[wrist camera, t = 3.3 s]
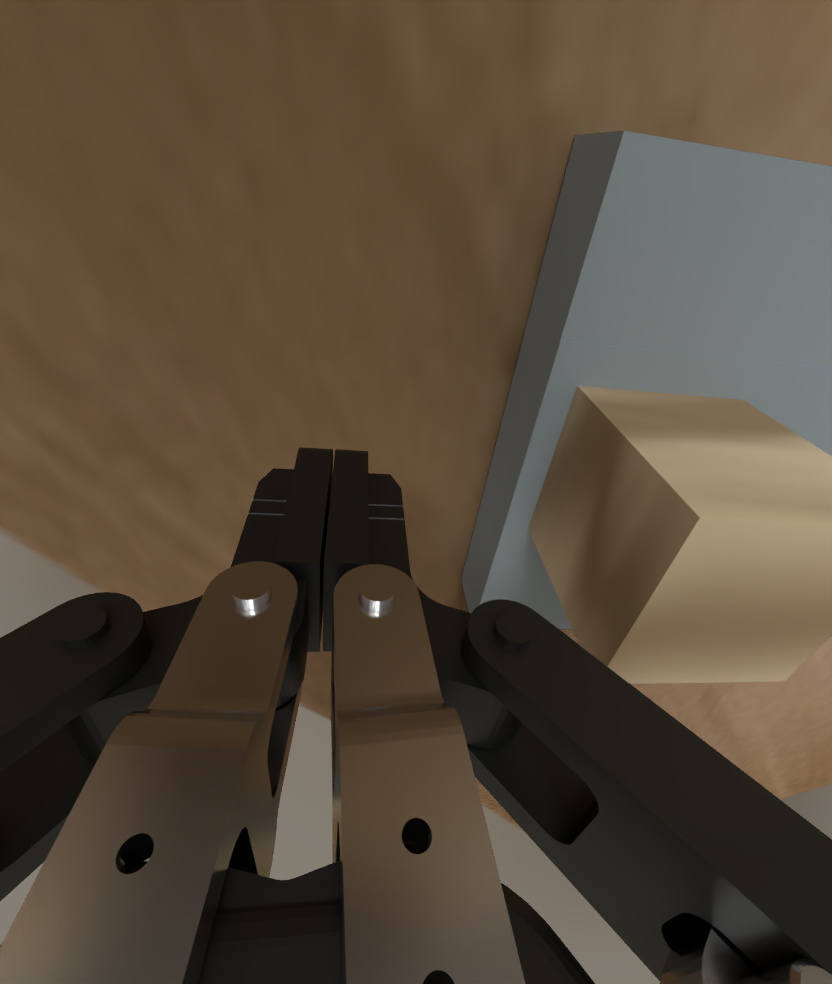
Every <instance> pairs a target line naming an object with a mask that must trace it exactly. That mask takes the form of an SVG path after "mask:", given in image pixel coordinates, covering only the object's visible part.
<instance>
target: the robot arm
mask: <svg viewBox="0 0 832 984" xmlns="http://www.w3.org/2000/svg"><path fill="white" fill-rule="evenodd" d="M322 619H323V651H332V668H331V735H332V788H333V789H332V790H333V792H332V794H333V863H332V864H330V865H327V866H325V867H322V868H319V869H317V870H314V871H312V872H309V873H307V874H304V875H302V876H299V877H296V878H293V879H290V880H282V881H281V880H275V879H271V878H269V876H270V870H271V865H272V859H273V853H274V846H275V838H276V827H277V815H278V808H279V802H280V796H281V791H282V786H283V781H284V776H285V771H286V766H287V761H288V756H289V751H290V746H291V741H292V736H293V731H294V726H295V721H296V716H297V711H298V706H299V702H300V697H301V689H302V682H303V679H304V674H305V666H306V658H307V652H319V651H320V640H321V629H322ZM475 777H476V778H477V779H478V780H479V781H480V782H481V784H482V785H483V786H484V787H485V788H486V789H487V790H488V791H489V792H490V794H491V795H492V796H493V797H494V798H495V799H496V800H497V801H498V802H499V804H500V805H501V806H502V807H503V808H504V809H505V810H506V811H507V812H508V813H509V815H510V816H511V817H512V818H513V819H514V820H515V821H516V822H517V823H518V825H519V826H520V827H521V828H522V829H523V830H524V831H525V832H526V833H527V834H528V835H529V837H530V838H531V839H532V840H533V841H534V842H535V843H536V844H537V846H538V847H539V848H540V849H541V850H542V851H543V852H544V853H545V854H546V856H547V857H548V858H549V859H550V860H551V861H552V862H553V863H554V864H555V865H556V867H557V868H558V869H559V870H560V871H561V872H562V873H563V874H564V875H565V877H566V878H567V879H568V880H569V881H570V882H571V883H572V884H573V885H574V886H575V888H576V889H577V890H578V891H579V892H580V893H581V894H582V895H583V897H584V898H585V899H586V900H587V901H588V902H589V903H590V904H591V905H592V906H593V908H594V909H595V910H596V911H597V912H598V913H599V914H600V915H601V916H602V918H603V919H604V920H605V921H606V922H607V923H608V924H609V925H610V926H611V928H612V929H613V930H614V931H615V932H616V933H617V934H618V935H619V936H620V937H621V939H622V940H623V941H624V942H625V943H626V944H627V945H628V946H629V947H630V949H631V950H632V951H633V952H634V953H635V954H636V955H637V956H638V957H639V958H640V960H641V961H642V962H643V963H644V964H645V965H646V966H647V967H648V969H649V970H650V971H651V972H652V973H653V974H654V975H655V976H656V977H657V978H658V980H659V981H660V984H832V840H831V839H830V838H829V837H827V836H826V835H825V834H824V833H822V832H821V831H820V830H819V829H817V828H816V827H814V826H813V825H812V824H811V823H809V822H808V821H807V820H806V819H804V818H803V817H802V816H800V815H799V814H798V813H796V812H795V811H794V810H792V809H791V808H790V807H789V806H787V805H786V804H785V803H784V802H782V801H781V800H780V799H778V798H777V797H776V796H774V795H773V794H772V793H771V792H769V791H768V790H767V789H765V788H764V787H763V786H761V785H760V784H759V783H758V782H756V781H755V780H754V779H752V778H751V777H750V776H748V775H747V774H746V773H745V772H743V771H742V770H741V769H739V768H738V767H737V766H736V765H734V764H733V763H732V762H730V761H729V760H728V759H726V758H725V757H724V756H723V755H721V754H720V753H719V752H717V751H716V750H715V749H713V748H712V747H711V746H710V745H708V744H707V743H706V742H704V741H703V740H702V739H701V738H699V737H698V736H697V735H695V734H694V733H693V732H691V731H690V730H689V729H688V728H686V727H685V726H684V725H682V724H681V723H680V722H678V721H677V720H676V719H675V718H673V717H672V716H671V715H669V714H668V713H667V712H665V711H664V710H663V709H662V708H660V707H659V706H658V705H656V704H655V703H654V702H653V701H651V700H650V699H649V698H647V697H646V696H645V695H643V694H642V693H641V692H640V691H638V690H637V689H636V688H634V687H633V686H632V685H630V684H629V683H628V682H627V681H625V680H624V679H623V678H621V677H620V676H619V675H618V674H616V673H615V672H614V671H612V670H611V669H610V668H608V667H607V666H606V665H605V664H603V663H602V662H601V661H599V660H598V659H597V658H595V657H594V656H593V655H592V654H590V653H589V652H588V651H586V650H585V649H584V648H583V647H581V646H580V645H579V644H577V643H576V642H575V641H573V640H572V639H571V638H570V637H568V636H567V635H566V634H564V633H563V632H562V631H560V630H559V629H558V628H557V627H555V626H554V625H553V624H551V623H550V622H549V621H547V620H546V619H545V618H544V617H542V616H541V615H540V614H538V613H537V612H536V611H534V610H533V609H531V608H530V607H528V606H526V605H524V604H521V603H518V602H515V601H511V600H504V599H497V600H490V601H487V602H484V603H482V604H480V605H479V606H477V607H476V608H475V609H474V610H473V612H472V613H469V612H465V611H462V610H458V609H455V608H451V607H448V606H445V605H442V604H440V603H438V602H435V601H433V600H432V599H430V598H429V597H427V596H426V595H425V594H424V593H422V592H421V591H420V590H419V588H418V587H417V586H416V584H415V583H414V581H413V579H412V577H411V573H410V566H409V557H408V548H407V539H406V530H405V521H404V511H403V502H402V493H401V488H400V487H399V485H398V484H397V483H396V481H395V480H394V479H393V477H392V476H391V475H389V474H370V473H368V451H353V450H335V459H334V468H333V449H318V448H301V447H300V448H299V450H298V454H297V459H296V463H295V467H294V470H292V469H272V470H271V471H270V472H269V473H268V474H267V475H266V476H265V477H264V478H262V479H261V480H260V481H259V483H258V486H257V489H256V492H255V495H254V500H253V501H252V504H251V507H250V510H249V515H248V516H247V519H246V522H245V525H244V528H243V531H242V534H241V538H240V541H239V544H238V547H237V550H236V553H235V556H234V559H233V562H232V565H231V567H230V568H228V569H226V570H225V571H223V572H221V573H220V574H219V575H217V576H216V577H215V578H214V579H213V580H212V581H211V582H210V584H209V585H208V587H207V589H206V590H205V592H204V595H202V596H200V597H198V598H195V599H193V600H190V601H187V602H184V603H180V604H176V605H172V606H168V607H163V608H159V609H155V610H150V611H146V612H143V611H142V609H141V607H140V605H139V604H138V603H137V602H136V601H135V600H134V599H132V598H130V597H128V596H126V595H123V594H119V593H109V592H104V593H94V594H89V595H85V596H81V597H77V598H75V599H72V600H70V601H67V602H65V603H63V604H61V605H59V606H57V607H55V608H54V609H52V610H50V611H48V612H46V613H45V614H43V615H41V616H39V617H38V618H36V619H34V620H32V621H30V622H28V623H27V624H25V625H23V626H21V627H19V628H18V629H16V630H14V631H12V632H11V633H9V634H7V635H5V636H3V637H1V638H0V901H1V900H2V899H3V898H4V897H5V896H6V895H8V894H9V893H10V892H11V891H12V890H13V889H14V888H15V887H17V886H18V885H19V884H20V883H21V882H22V881H23V880H24V879H25V878H26V877H27V876H29V875H30V874H31V873H32V872H33V871H34V870H35V869H36V868H37V867H39V866H40V865H41V864H42V863H43V862H44V861H45V862H44V864H43V866H42V868H41V870H40V871H39V873H38V875H37V877H36V879H35V881H34V883H33V885H32V887H31V889H30V891H29V893H28V895H27V897H26V899H25V901H24V902H23V904H22V906H21V908H20V910H19V912H18V914H17V916H16V918H15V919H14V921H13V923H12V925H11V927H10V929H9V931H8V933H7V935H6V937H5V939H4V941H3V942H2V944H1V945H0V984H595V983H594V982H593V980H592V979H591V978H590V977H589V975H588V974H587V973H586V971H585V970H584V969H583V968H582V966H581V965H580V964H579V962H578V961H577V960H576V959H575V957H574V956H573V955H572V954H571V952H570V951H569V950H568V948H567V947H566V946H565V945H564V943H563V942H562V941H561V939H560V938H559V937H558V936H557V934H555V932H554V931H553V930H552V928H551V927H550V926H549V925H548V924H547V923H546V921H545V920H544V919H543V918H542V917H541V916H540V915H539V914H538V913H537V912H536V911H535V910H534V909H533V908H532V907H531V906H530V905H529V904H528V903H527V902H526V901H524V900H523V899H522V898H521V897H519V896H518V895H517V894H516V893H514V892H513V891H512V890H511V889H509V888H508V887H507V886H505V885H504V884H502V883H501V882H500V878H499V874H498V870H497V866H496V862H495V858H494V853H493V849H492V845H491V841H490V837H489V833H488V829H487V825H486V821H485V817H484V812H483V808H482V804H481V800H480V796H479V792H478V788H477V784H476V780H475Z"/></svg>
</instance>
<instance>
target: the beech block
mask: <svg viewBox="0 0 832 984" xmlns="http://www.w3.org/2000/svg"><path fill="white" fill-rule="evenodd" d="M528 529H529V532H530V534H531V536H532V538H533V541H534V543H535V545H536V548H537V550H538V552H539V554H540V557H541V559H542V561H543V564H544V566H545V568H546V570H547V573H548V575H549V577H550V579H551V582H552V584H553V586H554V589H555V591H556V593H557V595H558V598H559V600H560V602H561V605H562V607H563V609H564V611H565V614H566V616H567V618H568V621H569V623H570V625H571V627H572V630H573V632H574V634H575V636H576V639H577V641H578V643H579V645H580V646H581V647H583V648H584V649H585V650H586V651H588V652H589V653H590V654H592V655H593V656H594V657H595V658H597V659H598V660H599V661H601V662H602V663H603V664H605V665H606V666H607V667H608V668H610V669H611V670H612V671H614V672H615V673H616V674H618V675H619V676H620V677H621V678H623V679H624V680H625V681H627V682H628V683H629V684H644V683H707V682H770V681H785V680H786V679H787V678H788V677H789V676H790V675H791V674H792V673H793V672H794V671H795V670H796V669H797V668H798V667H799V666H801V665H802V664H803V663H804V662H805V661H806V660H807V659H808V658H809V657H810V656H811V655H812V654H813V653H814V652H815V651H816V650H817V649H818V648H819V647H820V646H821V645H822V644H823V643H824V642H825V641H826V640H827V639H828V638H830V637H831V636H832V456H830V455H829V454H827V453H826V452H824V451H822V450H821V449H819V448H818V447H816V446H815V445H813V444H812V443H810V442H808V441H807V440H805V439H804V438H802V437H801V436H799V435H798V434H796V433H794V432H793V431H791V430H790V429H788V428H787V427H785V426H784V425H782V424H780V423H779V422H777V421H776V420H774V419H773V418H771V417H770V416H768V415H766V414H765V413H763V412H762V411H760V410H759V409H757V408H756V407H754V406H752V405H751V404H749V403H748V402H746V401H745V400H742V399H730V398H718V397H706V396H694V395H682V394H670V393H659V392H647V391H635V390H623V389H611V388H599V387H588V386H577V388H576V391H575V394H574V397H573V400H572V403H571V405H570V408H569V411H568V414H567V417H566V420H565V423H564V426H563V429H562V431H561V434H560V437H559V440H558V443H557V446H556V449H555V452H554V455H553V457H552V460H551V463H550V466H549V469H548V472H547V475H546V478H545V481H544V483H543V486H542V489H541V492H540V495H539V498H538V501H537V504H536V507H535V509H534V512H533V515H532V518H531V521H530V524H529V527H528Z"/></svg>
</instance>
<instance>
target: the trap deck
mask: <svg viewBox="0 0 832 984" xmlns="http://www.w3.org/2000/svg"><path fill="white" fill-rule="evenodd" d="M577 386H588V387H599V388H611V389H623V390H635V391H647V392H659V393H670V394H682V395H694V396H706V397H718V398H730V399H742V400H745V401H746V402H748V403H749V404H751V405H752V406H754V407H756V408H757V409H759V410H760V411H762V412H763V413H765V414H766V415H768V416H770V417H771V418H773V419H774V420H776V421H777V422H779V423H780V424H782V425H784V426H785V427H787V428H788V429H790V430H791V431H793V432H794V433H796V434H798V435H799V436H801V437H802V438H804V439H805V440H807V441H808V442H810V443H812V444H813V445H815V446H816V447H818V448H819V449H821V450H822V451H824V452H826V453H827V454H829V455H830V456H832V166H826V165H820V164H815V163H809V162H803V161H797V160H791V159H786V158H780V157H774V156H768V155H762V154H757V153H751V152H745V151H739V150H734V149H728V148H722V147H716V146H710V145H705V144H699V143H693V142H687V141H681V140H676V139H670V138H664V137H658V136H653V135H647V134H641V133H635V132H629V131H615V132H605V133H595V134H585V135H575V138H574V141H573V145H572V149H571V153H570V157H569V161H568V165H567V169H566V173H565V177H564V180H563V184H562V188H561V192H560V196H559V200H558V204H557V208H556V212H555V216H554V219H553V223H552V227H551V231H550V235H549V239H548V243H547V247H546V251H545V254H544V258H543V262H542V266H541V270H540V274H539V278H538V282H537V286H536V290H535V293H534V297H533V301H532V305H531V309H530V313H529V317H528V321H527V325H526V329H525V332H524V336H523V340H522V344H521V348H520V352H519V356H518V360H517V364H516V367H515V371H514V375H513V379H512V383H511V387H510V391H509V395H508V399H507V403H506V406H505V410H504V414H503V418H502V422H501V426H500V430H499V434H498V438H497V442H496V445H495V449H494V453H493V457H492V461H491V465H490V469H489V473H488V477H487V480H486V484H485V488H484V492H483V496H482V500H481V504H480V508H479V512H478V516H477V519H476V523H475V527H474V531H473V535H472V539H471V543H470V547H469V551H468V555H467V558H466V562H465V566H464V570H463V574H462V578H461V580H462V585H463V589H464V594H465V598H466V602H467V607H468V611H469V613H472V612H473V610H474V609H475V608H476V607H477V606H479V605H480V604H482V603H484V602H487V601H490V600H497V599H504V600H511V601H515V602H518V603H521V604H524V605H526V606H528V607H530V608H531V609H533V610H534V611H536V612H537V613H538V614H540V615H541V616H542V617H544V618H545V619H546V620H547V621H549V622H550V623H551V624H553V625H554V626H555V627H557V628H558V629H572V627H571V625H570V623H569V621H568V618H567V616H566V614H565V611H564V609H563V607H562V605H561V602H560V600H559V598H558V595H557V593H556V591H555V589H554V586H553V584H552V582H551V579H550V577H549V575H548V573H547V570H546V568H545V566H544V564H543V561H542V559H541V557H540V554H539V552H538V550H537V548H536V545H535V543H534V541H533V538H532V536H531V534H530V532H529V529H528V527H529V524H530V521H531V518H532V515H533V512H534V509H535V507H536V504H537V501H538V498H539V495H540V492H541V489H542V486H543V483H544V481H545V478H546V475H547V472H548V469H549V466H550V463H551V460H552V457H553V455H554V452H555V449H556V446H557V443H558V440H559V437H560V434H561V431H562V429H563V426H564V423H565V420H566V417H567V414H568V411H569V408H570V405H571V403H572V400H573V397H574V394H575V391H576V388H577Z"/></svg>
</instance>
